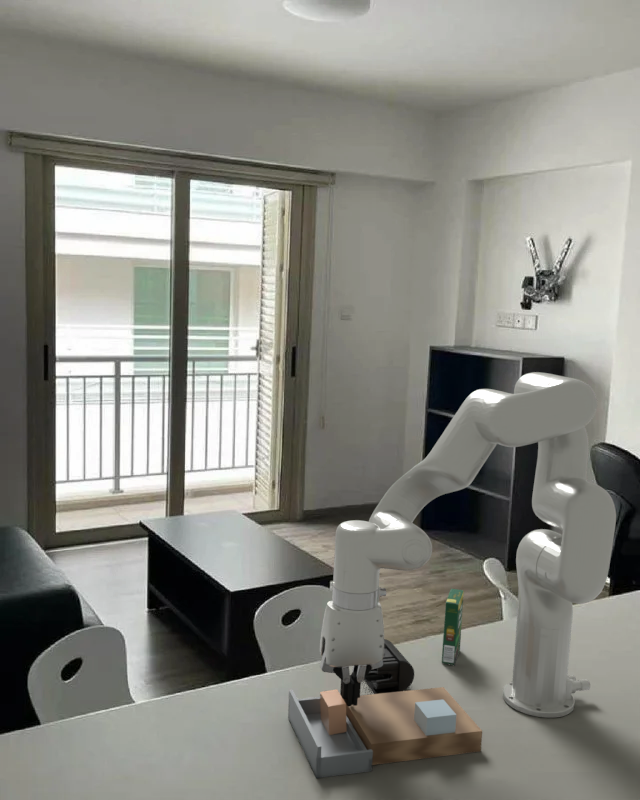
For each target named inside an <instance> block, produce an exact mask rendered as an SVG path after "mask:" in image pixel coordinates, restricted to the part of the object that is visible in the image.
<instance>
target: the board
mask: <svg viewBox="0 0 640 800" xmlns="http://www.w3.org/2000/svg"><path fill="white" fill-rule="evenodd" d="M433 700H444V701H445V702H446V703H447V704H448V705H449V707H450V708H451V709H452V710H453V711H454V712H455V714H456V728H455V732H454V733H445V734H437V735H428V736H426V735H425V734H424V732H423V731H422V730H421V728H420V727H419V726H418V724H417V723H416V722H415V720H414V713H415V702H424V701H433ZM346 716H347V717H348V719H349V721H350V722H351V724H352V726H353V727H354V729H355V731H356V732H357V734H358V736H359V737H360V739H361V741H362V742H363V744H364V746H365V747H366V749H367V750H370V749H372V751H373V758H372V766H375V765H383V764H390V763H399V762H407V761H413V760H414V761H417V760H423V759H430V758H440V757H445V756H446V757H447V756H454V755H462V754H471V753H479V752H482V743H483V742H482V741H483V740H482V739H483V730H482V729H481V728H480V727H479V725H478V724H477V723H476V722H475V721H474V720H473V719H472V718H471V716H470V715H469V714H468V713H467V712H466V711H465V709H464V708H463V707H462V705H460V704H459V703H458V702H457V701H456V699H455V698H454V697H453V696H452V695H451V693H449V691H448V690H447V689H446V688H445V687H443V686H442V687H434V688H433V687H431V688H430V687H429V688H422V689H412V690H404V691H400V692H390V693H380V694H374V693H372V694H364V695H363V694H362V695H361V694H360V698H358V700H357V706H354V705H351V706H347V704H346Z"/></svg>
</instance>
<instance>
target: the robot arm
mask: <svg viewBox="0 0 640 800" xmlns="http://www.w3.org/2000/svg"><path fill="white" fill-rule="evenodd" d="M597 407H598V398H597V395H596V392H595V391H594V389H593V387H591V386H590V384H588V383H587V382H585V381H583V380H581V379H579V378H573V377H568V376H563V375H558V374H553V373H547V372H539V371H536V372H535V371H532V372H528V373H525V374H523V375H521V377H519V379H518V380H517V381H516V382H515V385H514V390H513V393H510V392H506V391H501V390H496V389H493V388H492V389H491V388H479V389H476V390H474V391H472V392H471V393H470V394H469V395H468V396H467V397H466V398H465V400H464V401H463V402H462V403H461V405H460V406H459V408H458V410H457V411H456V413H455V414H454V415H453V417H452V418H451V420H450V422H449V423H448V424H447V426H446V427H445V429H444V431H443V432H442V434H441V435H440V437H439V438H438V439H437V441H436V443H435V444H434V445H433V447H432V449H431V450H430V452H429V453H428V454H427V456H426V457H425V458H423V460H421V461H420V462H419V463H417V464H415V465H414V466H413V467H412V468H411V469H409V470H408V471H406V473H404V474H403V475H402V476H401V477H399V478H398V479H396V481H395V482H393V484H391V486H390V487H389V488H388V489H387V491H386V492H385V494H384V495H383V496H382V498H381V500H379V502H378V504H377V505H376V507H375V508H374V509H373V512H372V514H371V515H370V517H369V520H368V521H366V520H359V519H355V520H347V521H343V522H341V523H340V524H338V526H337V527H336V530H335V536H334V537H335V538H334V558H333V563H334V564H333V577H332V581H333V582H332V595H331V597H332V598H331V599H332V600H330V601H328V602H326V603H327V604H326V606H325V610H324V614H323V620H322V626H321V630H320V641H319V654H320V656H321V657H322V658H321V661H320V664H319V668H320V669H321V671H322V672H323V673H328V674H329V673H330V674H335V676H337V677H338V679H340V690H339V691H340V692H339V693H340V695H341V696H342V698H343V700H344V701H345V703H346V704H347V706H351V705H354V706H357V700H358V698H360V696H361V685H362V682H364V681H365V680H364V677H365V676H366V675H367V674H368V673H369V672H370V671H371V670H372V669H376V668H379V667H382V666H383V660H382V659H383V656H384V639H385V624H384V616H383V609H382V605H381V603H380V599H381V598H382V597H386V596H387V590H386V588H385V587H380V571H381V569H385V570H386V569H387V570H396V571H406V572H407V571H409V572H410V571H415V570H417V569H420V568H422V567H423V566H425V564H427V562H429V561H430V559H431V556H432V552H433V544H432V541H431V538H430V537H429V535H428V534H427V533H426V532H425V531H424V530H423V529H422V528H421V527H419V526H418V525H416V524H415V523H413V522H414V521H415V519H416V518H417V517H418V515H419V514H420V512H421V511H422V510H423V509H424V507H426V506H427V505H428V504H429V503H430V502H432V501H433V500H435V499H436V498H438V497H440V496H443V495H445V494H446V495H447V494H450V493H453V492H458V491H461V490H464V489H466V488H467V487H469V486H470V485H471V484H472V482H473V481H474V480H475V478H476V477H477V475H478V474H479V472H480V470H481V469H482V467H484V464H485V463H486V462H487V460H488V458H489V456H490V455H491V454H492V452H493V451H494V450H495V448H496V447H497V445H500V446H503V447H506V448H507V447H508V448H518V447H524V446H528V445H532V444H533V445H534V444H535V443H537V445H538V446H537V447H538V449H537V459H536V467H535V473H534V474H535V475H534V481H533V482H534V483H533V488H532V490H533V491H532V497H531V507H532V511H533V513H534V514H535V516H536V517H538V519H539V520H541V521H542V522H543V523H546V524H547V525H549V526H552V527H554V528H555V529H558V530H560V531H561V532H562V534H561V533H560V532H557V531H555V530H551V529H545V528H544V529H543V528H540V529H534V530H531V531H530V532H528V533H527V534H525V535H524V536H523V537H522V539H521V540H520V542H519V544H518V547H517V549H516V555H515V556H516V558H515V564H516V565H515V566H516V574H517V584H518V598H517V599H518V601H517V602H518V603H517V613H516V614H517V615H516V627H515V628H516V629H515V643H514V654H513V655H514V656H513V669H512V681H509V682H508V683H506V684H505V685H503V688H502V698H503V700H504V701H505V703H506V704H507V705H508V706H509V707H511V708H512V709H514V710H516V711H517V712H518V711H519V712H521V713H522V714H525V715H529V716H532V717H538V718H547V719H548V718H549V719H550V718H561V717H565V716H567V715H568V714H570V713H572V711H573V710H574V708H575V698H574V697H573V695H572V694H575V693H576V692H578V691H579V692H582V691H590V690H591V682H590V681H589V679H587V678H585V679H577V678H576V676H575V675H572V674H571V675H569V664H570V662H569V661H570V653H571V652H570V650H571V649H570V648H571V637H572V625H573V616H574V615H573V613H574V608H573V607H574V606H573V604H577V605H578V604H579V605H581V604H582V605H583V604H587V603H590V602H592V601H594V600H595V599H596V598H597V597H598V596H599V595H600V594H601V593H602V592H603V589H604V587H605V585H606V584H607V583H606V582H607V579H608V575H609V571H610V570H609V569H610V563H611V558H612V550H613V545H614V538H615V531H616V522H617V511H616V507H615V506H616V505H615V503H614V500H613V498H612V496H611V495H610V493H609V492H608V491H607V490H606V489H605V488H603V487H602V486H600V485H599V484H596V483H593V482H592V481H588V478H587V476H588V475H587V474H588V473H587V471H588V463H589V450H590V445H589V443H590V442H589V441H590V440H589V435H588V431H587V428H586V426H587V425H588V424H589V423H590V422H591V421H592V420H593V418H594V417H595V415H596V412H597V409H598V408H597ZM350 667H352V669H351V673H350Z"/></svg>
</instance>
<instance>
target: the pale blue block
mask: <svg viewBox="0 0 640 800" xmlns="http://www.w3.org/2000/svg"><path fill="white" fill-rule="evenodd" d="M414 720H415V722H416V723H417V724H418V726H419V727H420V728H421V730H422V731H423V732H424V734H425V735H426V736H428V735H437V734H445V733H454V732H455V728H456V714H455V712H454V711H453V710H452V709H451V708H450V707H449V705H448V704H447V703H446V702H445V701H444V700H433V701H424V702H415V713H414Z"/></svg>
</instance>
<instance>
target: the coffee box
mask: <svg viewBox="0 0 640 800" xmlns="http://www.w3.org/2000/svg"><path fill="white" fill-rule="evenodd" d="M464 592H465V591H464V590H463V589H457V588H456V589H455V588H450V590H449V593H448V596H447V599H446V601H445V611H444V620H443V621H444V623H443V625H444V626H443V637H442V649H441V650H442V653H441V663H444V664H443V665H448V664H450V665H449V666H453V665H454V666H455V665H456V662H457V659H458V656H459V654H460V651H461V638H462V622H463V608H464V606H463V605H464V597H465V596H464V594H465V593H464Z"/></svg>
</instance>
